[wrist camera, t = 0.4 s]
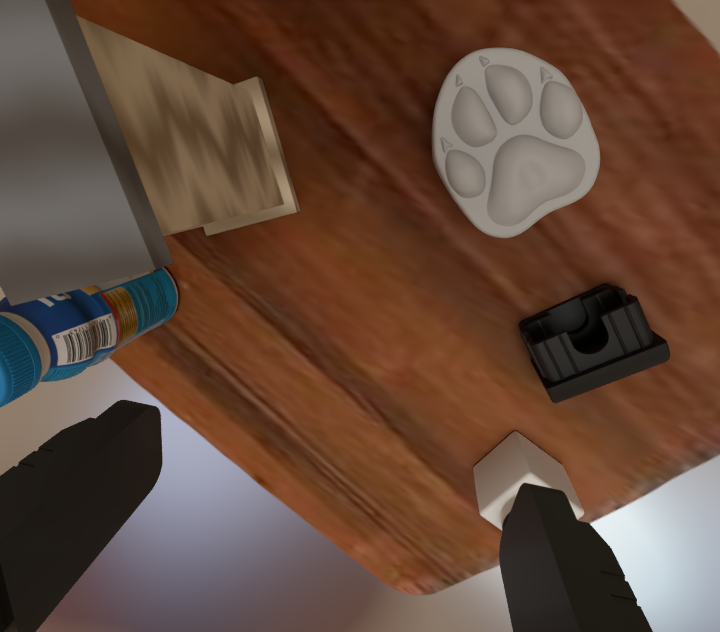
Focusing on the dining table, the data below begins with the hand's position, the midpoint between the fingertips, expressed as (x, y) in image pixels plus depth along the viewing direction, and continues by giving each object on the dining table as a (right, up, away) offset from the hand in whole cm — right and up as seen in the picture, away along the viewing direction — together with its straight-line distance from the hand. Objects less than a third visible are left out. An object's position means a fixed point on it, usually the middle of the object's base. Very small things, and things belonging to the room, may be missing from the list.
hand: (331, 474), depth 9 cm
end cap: (+22, +2, +32) cm, 39 cm away
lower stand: (-12, +19, +31) cm, 38 cm away
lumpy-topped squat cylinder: (+12, +19, +27) cm, 35 cm away
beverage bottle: (-23, +6, +38) cm, 45 cm away
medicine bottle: (+19, -14, +38) cm, 44 cm away
